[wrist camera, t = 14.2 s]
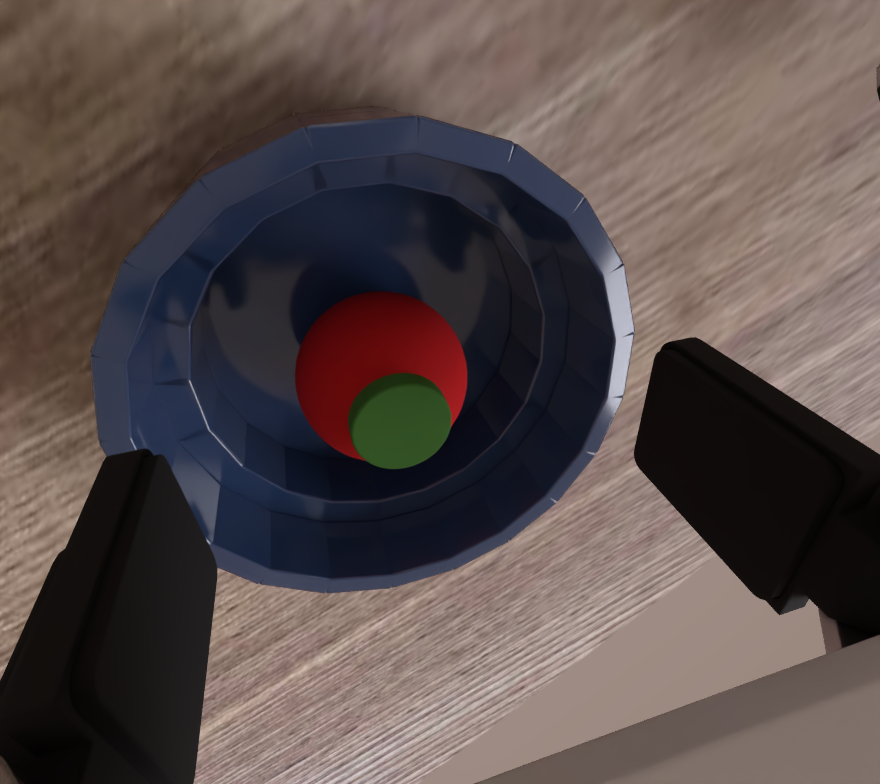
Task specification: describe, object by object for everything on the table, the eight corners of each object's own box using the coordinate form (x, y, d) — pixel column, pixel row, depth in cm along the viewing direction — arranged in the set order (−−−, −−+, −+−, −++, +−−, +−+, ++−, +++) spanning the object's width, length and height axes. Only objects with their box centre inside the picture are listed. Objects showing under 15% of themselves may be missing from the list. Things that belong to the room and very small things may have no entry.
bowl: (59, 132, 11) (-62, 160, 7) (554, 89, 14) (676, 91, 10) (223, 514, 18) (209, 642, 14) (535, 437, 20) (602, 527, 16)
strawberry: (274, 282, 14) (277, 361, 10) (435, 257, 15) (496, 320, 11) (309, 417, 16) (322, 523, 12) (444, 388, 17) (496, 479, 13)
